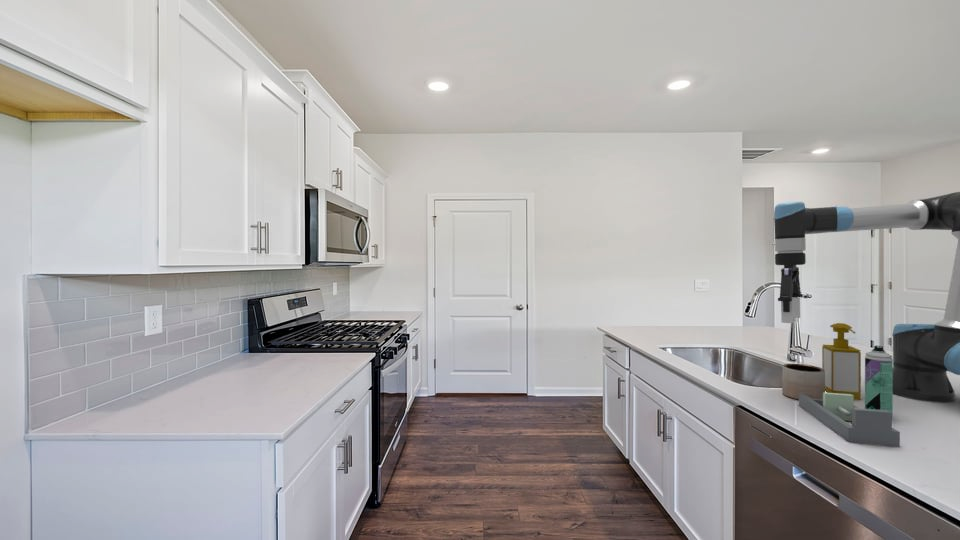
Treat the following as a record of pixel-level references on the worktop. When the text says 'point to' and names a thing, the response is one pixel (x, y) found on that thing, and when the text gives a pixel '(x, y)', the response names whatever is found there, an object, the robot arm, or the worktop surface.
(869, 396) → the spray can
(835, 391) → the soap bottle
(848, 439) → the lane
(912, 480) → the worktop surface
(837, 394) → the pusher
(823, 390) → the planter
